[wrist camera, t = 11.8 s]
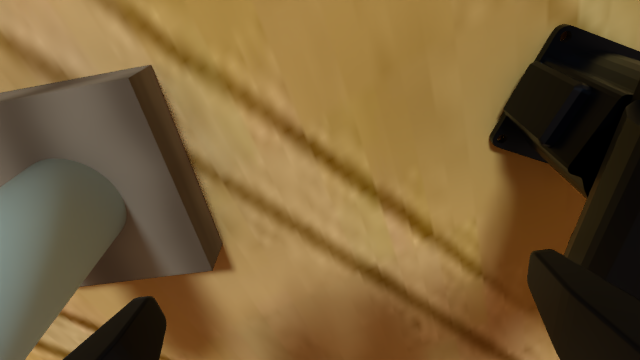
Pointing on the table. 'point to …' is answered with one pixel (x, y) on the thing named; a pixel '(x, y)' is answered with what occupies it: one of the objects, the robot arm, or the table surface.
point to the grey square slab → (118, 167)
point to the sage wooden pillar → (50, 244)
